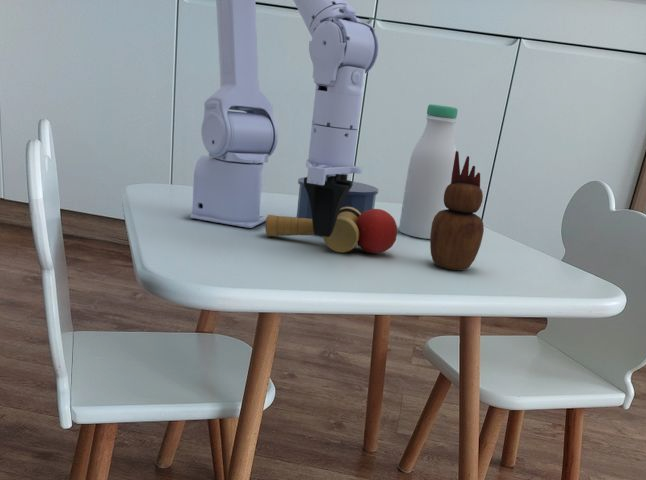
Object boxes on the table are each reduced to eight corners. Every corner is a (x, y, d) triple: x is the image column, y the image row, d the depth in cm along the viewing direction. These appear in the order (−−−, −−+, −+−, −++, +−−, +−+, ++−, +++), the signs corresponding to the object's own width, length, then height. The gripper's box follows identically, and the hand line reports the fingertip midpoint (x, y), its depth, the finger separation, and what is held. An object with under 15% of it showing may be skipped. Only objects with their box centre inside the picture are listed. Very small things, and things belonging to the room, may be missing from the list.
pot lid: (287, 189, 99) (290, 164, 97) (309, 181, 110) (311, 158, 109) (370, 203, 97) (373, 177, 96) (383, 193, 108) (386, 170, 107)
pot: (287, 230, 101) (291, 185, 99) (307, 218, 111) (311, 178, 109) (362, 243, 99) (368, 198, 97) (375, 230, 110) (381, 189, 108)
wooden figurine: (421, 266, 91) (440, 149, 85) (431, 258, 96) (450, 148, 90) (471, 276, 89) (494, 158, 83) (478, 268, 94) (501, 156, 89)
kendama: (260, 252, 91) (394, 254, 89) (259, 203, 90) (395, 204, 88) (274, 250, 99) (398, 253, 97) (273, 206, 98) (399, 207, 96)
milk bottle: (439, 242, 107) (463, 108, 100) (392, 233, 109) (412, 101, 102) (449, 235, 114) (472, 109, 107) (405, 227, 116) (424, 103, 109)
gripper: (354, 133, 77) (340, 250, 82) (376, 129, 91) (362, 230, 95) (294, 124, 78) (284, 240, 83) (324, 122, 92) (313, 222, 96)
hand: (322, 235), depth 89 cm, fingers closed
